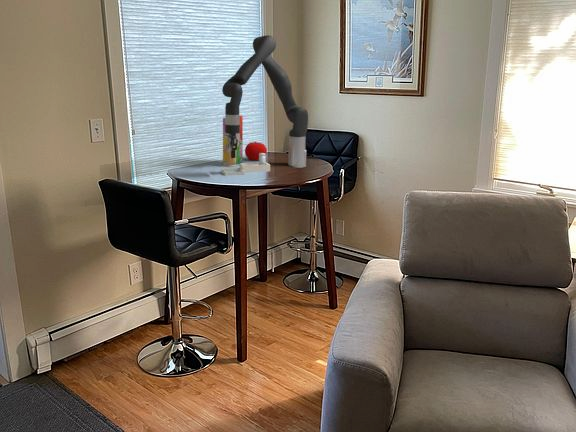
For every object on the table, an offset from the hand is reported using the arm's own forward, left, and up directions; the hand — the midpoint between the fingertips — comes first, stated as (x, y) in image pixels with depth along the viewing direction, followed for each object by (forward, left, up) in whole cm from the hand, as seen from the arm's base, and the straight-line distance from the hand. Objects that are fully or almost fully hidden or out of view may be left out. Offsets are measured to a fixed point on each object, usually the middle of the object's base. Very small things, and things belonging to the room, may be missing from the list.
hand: (232, 157), depth 278 cm
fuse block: (-13, -4, -9) cm, 17 cm away
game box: (-7, -27, -10) cm, 29 cm away
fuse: (-17, -4, -8) cm, 19 cm away
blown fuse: (0, 0, -5) cm, 5 cm away
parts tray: (0, 0, -9) cm, 9 cm away
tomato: (-24, -40, -10) cm, 47 cm away
